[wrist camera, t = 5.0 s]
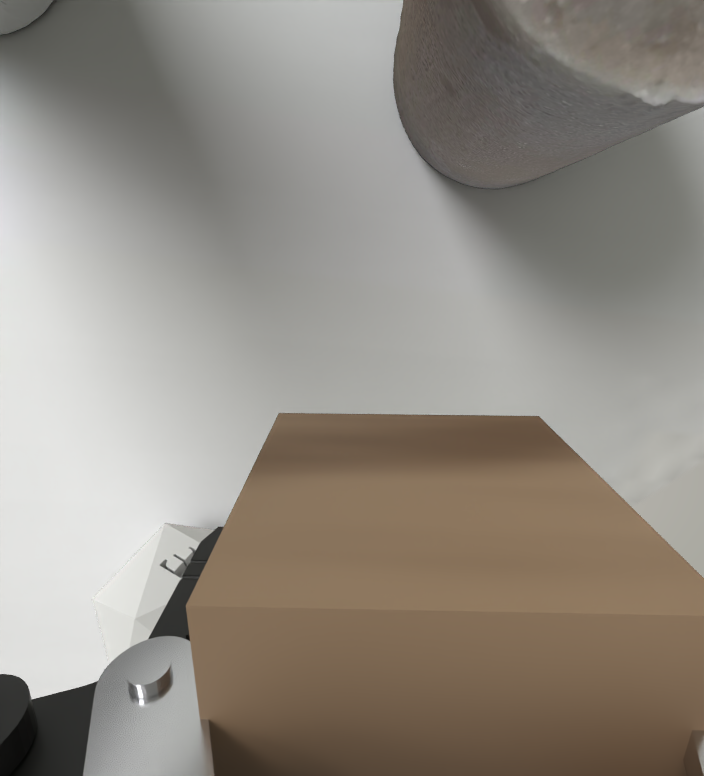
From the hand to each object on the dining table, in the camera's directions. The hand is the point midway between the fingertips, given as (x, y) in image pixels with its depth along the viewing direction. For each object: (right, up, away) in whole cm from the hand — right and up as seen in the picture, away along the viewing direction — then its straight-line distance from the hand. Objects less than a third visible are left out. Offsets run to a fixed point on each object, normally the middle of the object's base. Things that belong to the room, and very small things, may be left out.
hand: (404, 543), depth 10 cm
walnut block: (0, 0, +1) cm, 1 cm away
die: (-10, -7, +19) cm, 22 cm away
